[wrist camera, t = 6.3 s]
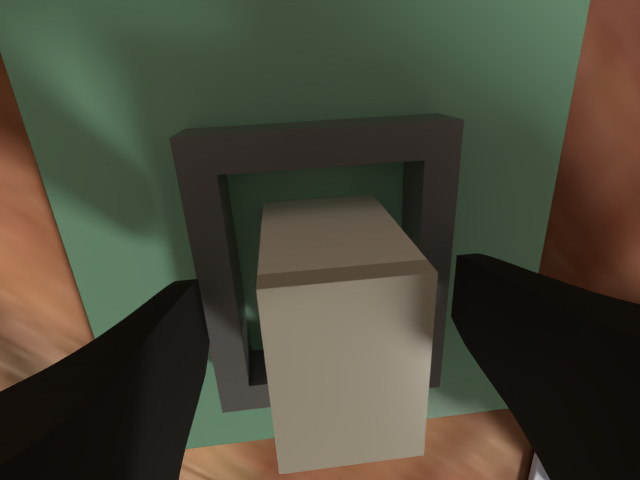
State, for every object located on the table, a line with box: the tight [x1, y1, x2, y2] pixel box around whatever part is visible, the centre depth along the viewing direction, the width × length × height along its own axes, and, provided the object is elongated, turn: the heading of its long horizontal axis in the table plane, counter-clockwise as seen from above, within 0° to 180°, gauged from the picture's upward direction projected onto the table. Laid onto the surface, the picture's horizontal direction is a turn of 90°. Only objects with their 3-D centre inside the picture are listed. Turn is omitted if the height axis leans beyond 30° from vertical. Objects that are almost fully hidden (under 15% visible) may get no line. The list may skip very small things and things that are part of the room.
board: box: [0, 0, 590, 449], centre depth 13 cm, size 16×16×3 cm
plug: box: [256, 194, 438, 474], centre depth 11 cm, size 4×5×6 cm
